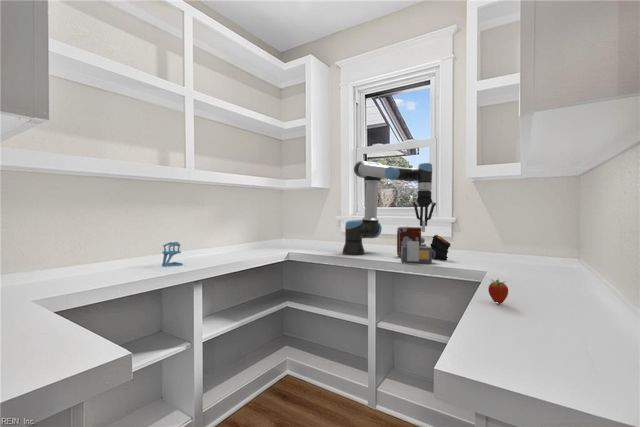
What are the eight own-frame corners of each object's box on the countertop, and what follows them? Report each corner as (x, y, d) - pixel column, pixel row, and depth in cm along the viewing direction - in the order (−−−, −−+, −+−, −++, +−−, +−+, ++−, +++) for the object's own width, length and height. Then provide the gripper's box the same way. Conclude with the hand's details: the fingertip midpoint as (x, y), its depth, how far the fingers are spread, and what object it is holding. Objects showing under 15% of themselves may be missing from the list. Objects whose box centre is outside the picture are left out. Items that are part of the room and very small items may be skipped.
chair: (159, 265, 159) (159, 242, 159) (175, 263, 166) (175, 241, 166) (167, 267, 154) (167, 243, 154) (183, 265, 161) (183, 242, 161)
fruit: (487, 304, 96) (488, 278, 96) (488, 300, 100) (488, 275, 100) (508, 307, 93) (508, 280, 93) (508, 303, 97) (508, 277, 97)
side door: (407, 261, 175) (407, 241, 175) (407, 260, 177) (407, 241, 177) (419, 261, 174) (419, 241, 174) (418, 261, 176) (418, 241, 176)
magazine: (429, 255, 201) (437, 234, 196) (444, 266, 191) (453, 245, 185) (425, 255, 199) (433, 234, 194) (440, 267, 189) (449, 245, 183)
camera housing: (402, 263, 176) (402, 245, 176) (400, 260, 187) (401, 244, 187) (436, 264, 173) (436, 246, 173) (433, 261, 183) (433, 245, 183)
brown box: (429, 258, 198) (430, 226, 198) (399, 257, 199) (399, 226, 199) (425, 256, 208) (425, 226, 208) (396, 255, 208) (396, 226, 208)
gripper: (413, 190, 174) (412, 231, 175) (437, 190, 172) (436, 232, 172) (411, 190, 182) (410, 230, 182) (435, 191, 179) (433, 231, 180)
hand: (423, 231), depth 177 cm, fingers closed
